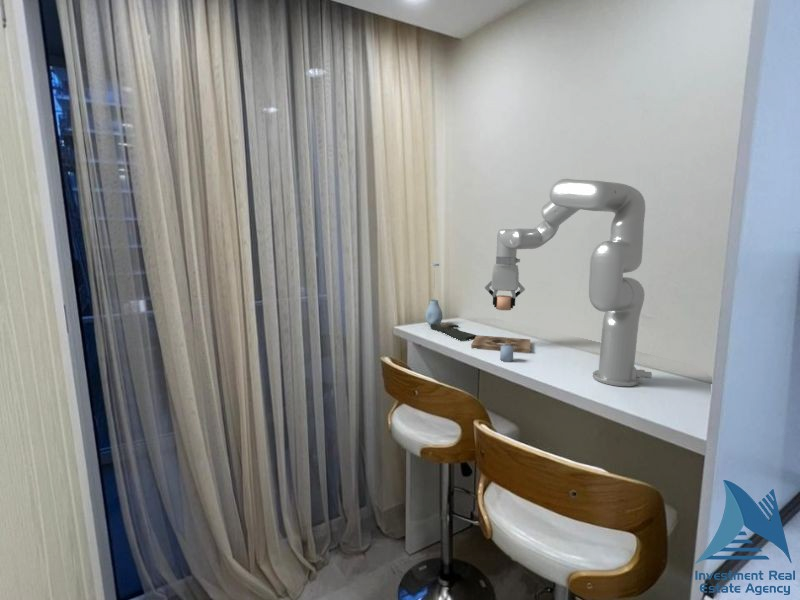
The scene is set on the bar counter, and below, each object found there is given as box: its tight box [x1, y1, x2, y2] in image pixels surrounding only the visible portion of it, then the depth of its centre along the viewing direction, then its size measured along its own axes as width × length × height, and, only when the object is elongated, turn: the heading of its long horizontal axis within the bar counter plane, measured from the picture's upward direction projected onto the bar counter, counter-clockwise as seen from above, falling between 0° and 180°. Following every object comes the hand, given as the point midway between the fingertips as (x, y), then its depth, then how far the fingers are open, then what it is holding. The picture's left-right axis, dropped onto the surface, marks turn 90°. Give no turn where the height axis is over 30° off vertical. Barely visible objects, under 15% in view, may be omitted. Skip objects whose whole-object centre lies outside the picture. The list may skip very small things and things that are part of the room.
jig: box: [471, 334, 531, 354], centre depth 167 cm, size 22×16×2 cm
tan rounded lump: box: [495, 294, 512, 311], centre depth 164 cm, size 6×6×5 cm
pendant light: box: [424, 263, 443, 325], centre depth 201 cm, size 8×8×30 cm
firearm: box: [429, 323, 477, 342], centre depth 188 cm, size 28×2×15 cm
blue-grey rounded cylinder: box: [499, 345, 514, 363], centre depth 147 cm, size 4×4×5 cm
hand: (503, 306), depth 164 cm, fingers closed on tan rounded lump, 5 cm apart
